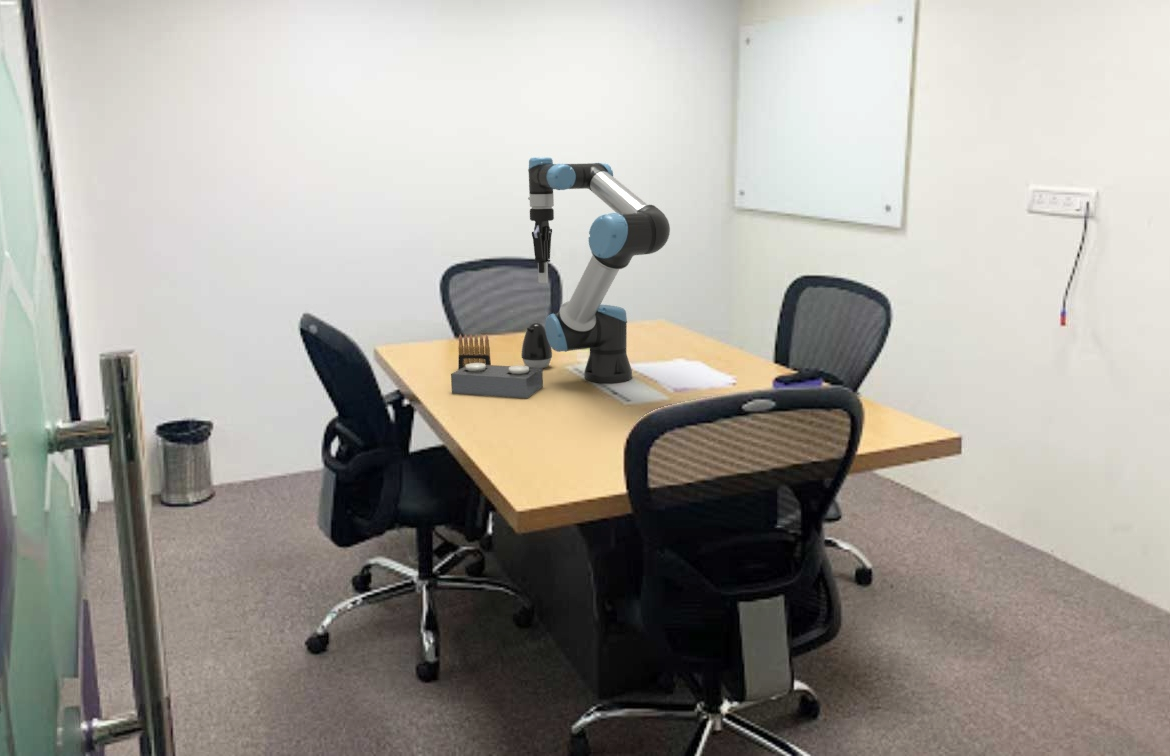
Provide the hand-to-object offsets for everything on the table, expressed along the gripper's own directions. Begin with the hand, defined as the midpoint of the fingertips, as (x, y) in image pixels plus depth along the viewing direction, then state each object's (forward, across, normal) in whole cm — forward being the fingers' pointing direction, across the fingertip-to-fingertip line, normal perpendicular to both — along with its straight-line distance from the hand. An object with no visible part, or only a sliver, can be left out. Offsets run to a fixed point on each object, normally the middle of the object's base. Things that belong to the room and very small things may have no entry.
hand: (543, 282), depth 299 cm
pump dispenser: (+30, -6, -5) cm, 31 cm away
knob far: (+29, +26, -13) cm, 41 cm away
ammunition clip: (+30, +2, -24) cm, 38 cm away
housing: (+29, +26, -6) cm, 40 cm away
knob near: (+29, +26, +1) cm, 39 cm away
